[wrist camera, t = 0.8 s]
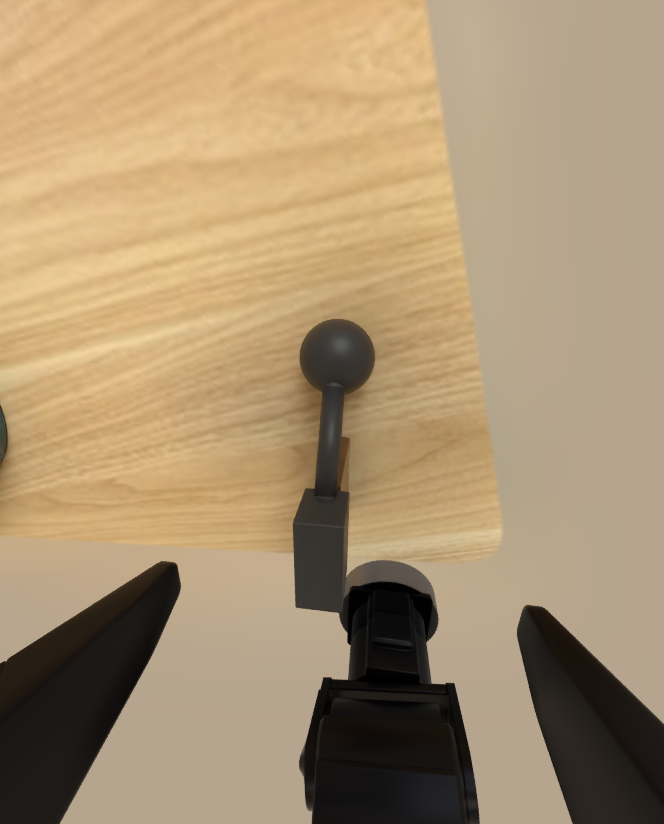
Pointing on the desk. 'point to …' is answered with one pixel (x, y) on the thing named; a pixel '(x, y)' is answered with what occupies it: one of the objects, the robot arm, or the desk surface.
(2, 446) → the bowl
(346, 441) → the chocolate brown square
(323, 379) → the ladle
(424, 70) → the desk surface
